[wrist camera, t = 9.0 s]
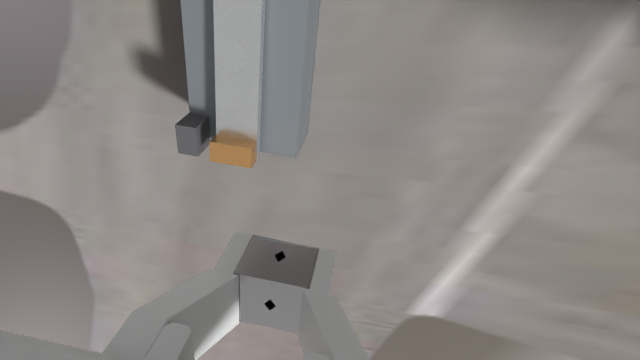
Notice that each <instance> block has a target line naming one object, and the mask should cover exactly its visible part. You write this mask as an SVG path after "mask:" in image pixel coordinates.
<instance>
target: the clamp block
mask: <svg viewBox="0 0 640 360" xmlns="http://www.w3.org/2000/svg"><path fill="white" fill-rule="evenodd" d="M180 1H181V14H182V26H183V38H184V50H185V62H186V74H187V86H188V98H189V110H190V113H189V114H187V115H186V116H185V117H184V118H183V119H181V120H180V121H179V122H178V123H176V124H175V128H176V137H177V147H178V153H181V154H186V155H192V156H199V155H200V154H201V153H202V152H203V151H204V150H205V148H206V147H207V146H208V145H209V144H210V143H209V142H210V141H211V140H212V139H213V138H214V137H215V136H216V100H215V56H214V11H213V0H180ZM319 7H320V0H265V22H264V48H263V74H262V100H261V126H260V152H265V153H271V154H276V155H282V156H288V157H294V158H296V157H297V155H298V153H299V150H300V148H301V146H302V144H303V142H304V140H305V137H306V135H307V132H308V122H309V111H310V101H311V91H312V80H313V70H314V59H315V49H316V38H317V28H318V17H319Z"/></svg>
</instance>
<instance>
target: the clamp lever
mask: <svg viewBox="0 0 640 360" xmlns="http://www.w3.org/2000/svg"><path fill="white" fill-rule="evenodd" d="M213 11H214V56H215V100H216V136H215V137H214V138H213V139H212V140H211V141H210V142H209V143H210V161H213V162H219V163H224V164H230V165H235V166H241V167H247V168H252V166H253V165H254V163H255V162H256V161H257V159H258V158H259V152H260V126H261V100H262V74H263V48H264V22H265V0H213Z"/></svg>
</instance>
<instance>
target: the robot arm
mask: <svg viewBox="0 0 640 360" xmlns="http://www.w3.org/2000/svg"><path fill="white" fill-rule="evenodd" d="M336 256H337V251H336V250H330V249H324V248H317V247H312V246H306V245H301V244H296V243H290V242H285V241H280V240H275V239H271V238H266V237H261V236H257V235H250V234H246V233H241V232H236V233H235V234H234V235H233V237H232V239H231V241H230V242H229V244H228V246H227V248H226V250H225V251H224V253H223V255H222V257H221V259H220V260H219V262H218V264H217V266H216V267H215V269H214V270H210V269H209V270H207V271H205V272H203V273H201V274H200V275H198V276H196V277H194V278H192V279H191V280H189V281H187V282H185V283H183V284H182V285H180V286H178V287H176V288H174V289H173V290H171V291H169V292H167V293H165V294H164V295H162V296H160V297H158V298H156V299H155V300H153V301H151V302H149V303H147V304H146V305H144V306H142V307H140V308H138V309H137V310H135V311H133V312H132V313H131V314H130V316H129V317H128V318H127V320H126V321H125V323H124V324H123V325H122V327H121V328H120V329H119V331H118V332H117V334H116V335H115V336H114V338H113V339H112V341H111V342H110V343H109V345H108V346H107V347H106V349H105V350H104V352H103V353H99V352H95V351H90V350H86V349H81V348H77V347H72V346H68V345H64V344H59V343H55V342H50V341H46V340H41V339H37V338H33V337H28V336H24V335H20V334H15V333H11V332H6V331H2V330H0V360H196V359H198V358H199V357H200V356H201V355H202V354H203V353H205V352H206V351H207V350H208V349H209V348H211V347H212V346H213V345H214V344H215V343H216V342H218V341H219V340H220V339H221V338H222V337H223V336H225V335H226V334H227V333H228V332H229V331H231V330H232V329H233V328H234V327H235V326H236V325H238V324H239V321H240V322H246V323H251V324H257V325H262V326H268V327H272V328H276V329H280V330H285V331H289V332H293V333H297V334H298V337H299V340H300V343H301V346H302V349H303V352H304V356H303V359H302V360H370V359H369V357H368V355H367V354H366V352H365V350H364V348H363V346H362V344H361V342H360V341H359V339H358V337H357V335H356V333H355V331H354V330H353V328H352V326H351V324H350V322H349V320H348V318H347V317H346V315H345V313H344V311H343V309H342V307H341V306H340V304H339V302H338V300H337V298H336V296H335V295H334V294H330V290H331V285H332V279H333V273H334V267H335V261H336Z"/></svg>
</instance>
